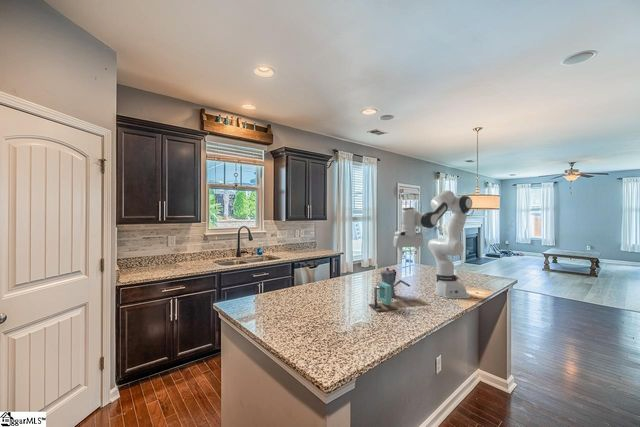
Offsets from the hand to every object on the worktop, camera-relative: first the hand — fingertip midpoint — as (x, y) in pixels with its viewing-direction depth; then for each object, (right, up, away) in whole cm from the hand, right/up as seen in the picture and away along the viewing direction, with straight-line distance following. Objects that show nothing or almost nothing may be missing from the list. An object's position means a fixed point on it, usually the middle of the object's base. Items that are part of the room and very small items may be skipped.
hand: (408, 253), depth 180 cm
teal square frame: (-18, -28, -10) cm, 35 cm away
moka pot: (-10, -32, +12) cm, 35 cm away
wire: (-14, -30, -9) cm, 34 cm away
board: (-8, -31, -8) cm, 33 cm away
